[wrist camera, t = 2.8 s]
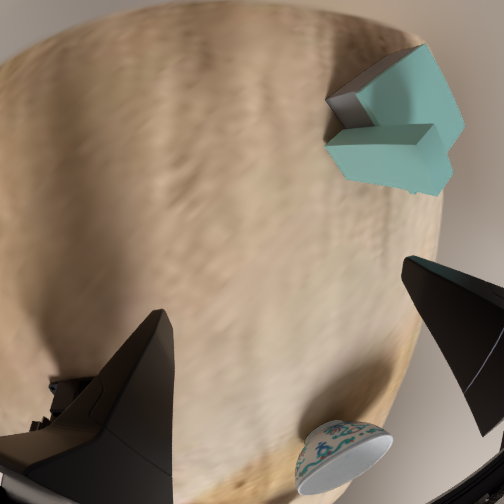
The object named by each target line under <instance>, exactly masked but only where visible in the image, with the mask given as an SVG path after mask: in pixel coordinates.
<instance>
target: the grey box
mask: <svg viewBox="0 0 504 504" xmlns="http://www.w3.org/2000/svg"><path fill="white" fill-rule="evenodd" d="M417 47H418V46H415V47H412V48H408V49H405V50H401V51H398V52H395V53H392V54H389V55H387V56H385V57H384V58H382V59H381V60H379V61H378V62H376V63H375V64H373V65H372V66H371V67H369V68H368V69H366V70H365V71H364V72H362V73H361V74H359V75H358V76H357V77H355V78H354V79H352V80H351V81H350V82H348V83H347V84H346V85H344V86H343V87H342V88H340V89H339V90H338V91H336V92H335V93H334V94H332V95H331V96H330V97H328V98H327V99H326V102H327V103H328V105H329V106H330V107H331V109H332V110H333V112H334V113H335V114H336V116H337V117H338V119H339V120H340V122H341V123H342V125H343V126H344V128H345V129H353V128H362V127H373V126H375V125H374V124H373V122H372V120H371V119H370V117H369V115H368V114H367V112H366V111H365V109H364V107H363V106H362V104H361V103H360V101H359V100H358V98H357V97H356V95H355V93H356V92H357V91H359V90H360V89H361V88H363V87H364V86H365V85H366V84H368V83H369V82H370V81H372V80H373V79H374V78H376V77H377V76H378V75H380V74H381V73H382V72H384V71H385V70H386V69H388V68H389V67H390V66H392V65H393V64H394V63H396V62H397V61H398V60H400V59H401V58H403V57H404V56H405V55H407V54H408V53H410V52H411V51H412V50H414V49H415V48H417Z"/></svg>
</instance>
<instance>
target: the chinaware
mask: <svg viewBox="0 0 504 504" xmlns="http://www.w3.org/2000/svg"><path fill="white" fill-rule="evenodd" d="M392 442H393V437H392V435H391V434H389V433H388V432H387V431H385V430H384V429H382V428H380V427H378V426H376V425H373V424H370V423H366V422H358V421H352V422H343V421H342V420H333V421H330V422H327V423H325V424H323V425H321V426H319V427H318V428H316V429H315V430H313V431H312V432H311V433H310V434H309V435H308V436H307V438H306V440H305V447H304V448H303V450H302V451H301V453H300V455H299V457H298V460H297V463H296V468H295V481H296V486H297V490H298V492H299V494H301V495H316V494H320V493H324V492H327V491H330V490H332V489H335V488H337V487H339V486H341V485H343V484H345V483H347V482H349V481H351V480H353V479H354V478H356V477H358V476H359V475H361V474H362V473H363V472H365V471H366V470H368V469H369V468H370V467H372V466H373V465H374V464H375V463H376V462H377V461H378V460H380V458H381V457H382V456H383V455H384V454H385V453H386V452H387V451H388V449H389V448H390V446H391V444H392Z"/></svg>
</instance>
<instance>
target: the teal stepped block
mask: <svg viewBox="0 0 504 504" xmlns="http://www.w3.org/2000/svg"><path fill="white" fill-rule="evenodd" d="M355 95H356V97H357V98H358V100H359V101H360V103H361V104H362V106H363V107H364V109H365V111H366V112H367V114H368V115H369V117H370V119H371V120H372V122H373V124H374V125H375V126H373V127H362V128H353V129H344V130H342V131H341V132H339V133H338V134H337V135H336V136H335V137H334V138H333V139H332V140H330V141H329V142H328V143H327V144H326V145H325V146H324V147H325V148H326V150H327V151H328V152H329V154H330V155H331V157H332V158H333V160H334V161H335V163H336V164H337V166H338V167H339V169H340V170H341V172H342V173H343V175H344V176H345V178H346V180H352V181H359V182H365V183H371V184H377V185H383V186H388V187H394V188H399V189H404V190H409V193H410V194H416V193H417V192H419V193H424V194H428V195H433V196H438V195H439V193H440V192H441V190H442V189H443V188H444V186H445V185H446V183H447V182H448V180H449V179H450V178H451V176H452V175H453V169H452V167H451V164H450V161H449V158H448V155H447V152H448V151H449V149H450V148H451V146H452V145H453V144H454V142H455V141H456V139H457V138H458V136H459V135H460V133H461V132H462V131H463V129H464V127H465V124H464V122H463V119H462V116H461V114H460V111H459V109H458V106H457V104H456V102H455V99H454V97H453V95H452V93H451V91H450V88H449V86H448V84H447V82H446V80H445V78H444V76H443V74H442V72H441V70H440V68H439V66H438V65H437V63H436V61H435V59H434V57H433V55H432V54H431V52H430V50H429V49H428V47H427V45H426V43H425V44H421V45H420V46H418V47H417V48H415V49H414V50H412V51H411V52H410V53H408V54H407V55H405V56H404V57H403V58H401V59H400V60H398V61H397V62H396V63H394V64H393V65H392V66H390V67H389V68H388V69H386V70H385V71H384V72H382V73H381V74H380V75H378V76H377V77H376V78H374V79H373V80H372V81H370V82H369V83H368V84H366V85H365V86H364V87H363V88H361V89H360V90H359V91H357V92H356V93H355Z"/></svg>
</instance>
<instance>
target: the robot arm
mask: <svg viewBox="0 0 504 504" xmlns="http://www.w3.org/2000/svg"><path fill="white" fill-rule="evenodd" d="M401 278H402V282H403V284H404V285H405V287H406V289H407V291H408V293H409V295H410V297H411V299H412V301H413V303H414V305H415V307H416V309H417V311H418V312H419V314H420V316H421V317H422V319H423V321H424V322H425V324H426V325H427V327H428V329H429V331H430V332H431V334H432V336H433V337H434V339H435V340H436V342H437V344H438V346H439V348H440V350H441V351H442V353H443V355H444V357H445V359H446V360H447V362H448V364H449V366H450V368H451V370H452V372H453V374H454V376H455V378H456V380H457V382H458V384H459V386H460V388H461V389H462V392H463V394H464V396H465V398H466V401H467V403H468V405H469V407H470V409H471V412H472V414H473V416H474V418H475V421H476V423H477V426H478V428H479V431H480V433H481V435H482V437H484V436H485V435H486V434H488V433H489V432H490V431H491V430H493V429H494V428H495V427H496V426H497V425H498V424H500V423H501V422H502V421H503V420H504V288H503V287H500V286H497V285H495V284H492V283H489V282H486V281H484V280H481V279H479V278H476V277H473V276H471V275H468V274H465V273H463V272H460V271H457V270H454V269H452V268H449V267H446V266H443V265H440V264H438V263H435V262H432V261H429V260H426V259H423V258H420V257H417V256H414V255H412V256H409V257H406V258H405V259H404V261H403V268H402V274H401ZM174 376H175V361H174V340H173V328H172V325H171V323H170V320H169V318H168V316H167V314H166V311H165V310H164V309H158V310H153V311H152V312H151V313H150V314H149V315H148V316H147V317H146V319H145V320H144V321H143V322H142V323H141V324H140V325H139V326H138V328H137V329H136V330H135V331H134V332H133V333H132V334H131V336H130V337H129V338H128V339H127V340H126V341H125V343H124V344H123V345H122V346H121V347H120V348H119V350H118V351H117V352H116V353H115V354H114V355H113V357H112V358H111V359H110V360H109V361H108V362H107V364H106V365H105V366H104V367H103V368H102V370H101V371H100V372H99V374H97V375H96V377H89V378H82V379H75V380H67V381H59V382H51V383H50V384H49V389H50V391H51V392H52V393H53V395H54V398H53V402H52V405H51V409H50V412H51V413H52V414H51V418H50V421H49V419H47V418H46V417H44V416H43V418H42V421H41V422H40V421H39V422H37V421H32V424H31V427H30V430H29V432H27V433H21V434H14V435H8V436H0V472H1V473H3V476H2V481H1V486H0V504H173V485H172V477H171V476H172V420H173V394H174ZM426 504H504V432H503V437H502V443H501V448H500V452H499V453H498V454H496V455H495V456H494V457H493V458H492V459H490V460H489V461H488V462H487V463H485V464H484V465H483V466H482V467H481V468H479V469H478V470H477V471H475V472H474V473H473V474H471V475H470V476H469V477H467V478H466V479H464V480H463V481H461V482H460V483H458V484H457V485H455V486H454V487H452V488H451V489H449V490H448V491H446V492H445V493H443V494H442V495H440V496H438V497H436V498H435V499H433V500H431V501H430V502H428V503H426Z"/></svg>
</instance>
